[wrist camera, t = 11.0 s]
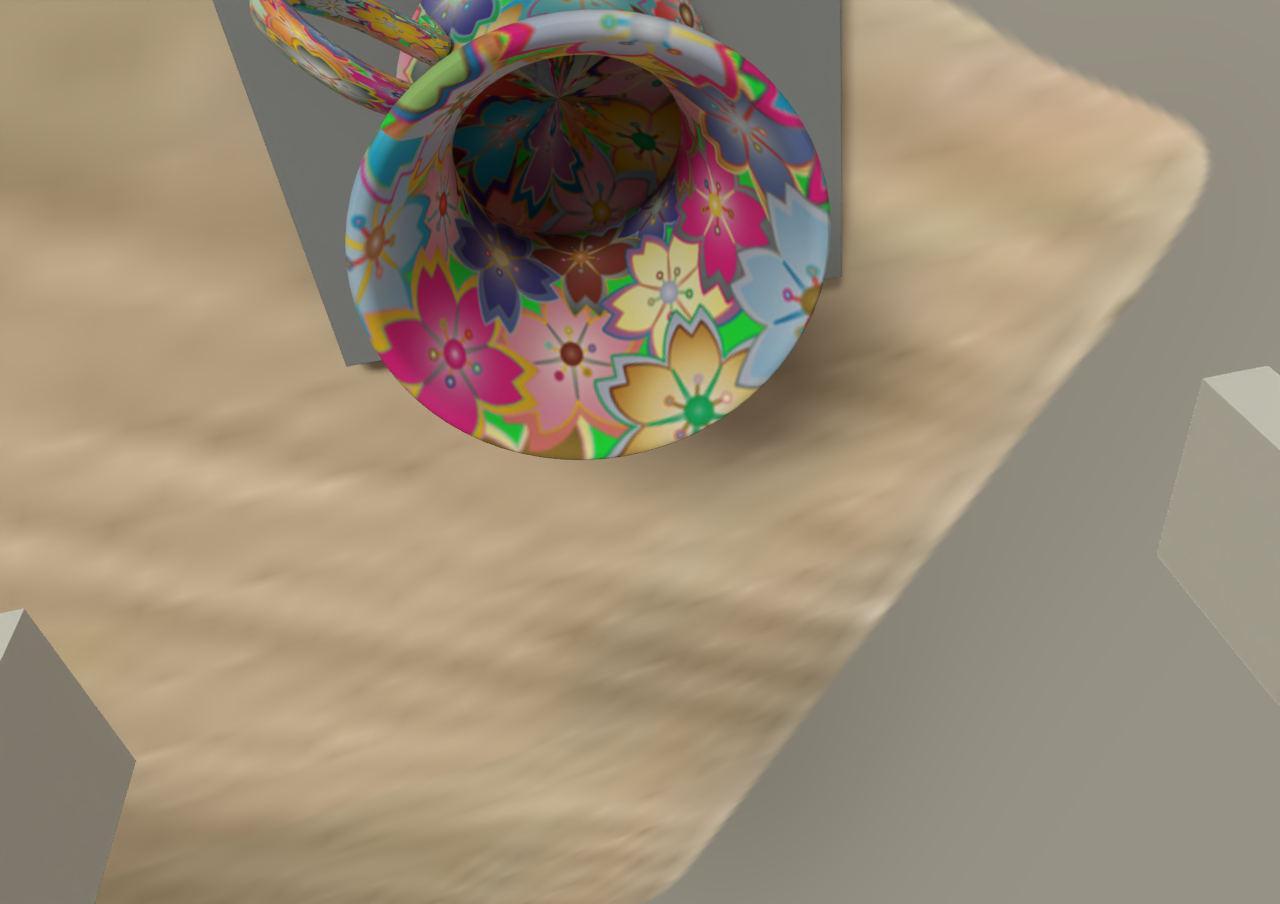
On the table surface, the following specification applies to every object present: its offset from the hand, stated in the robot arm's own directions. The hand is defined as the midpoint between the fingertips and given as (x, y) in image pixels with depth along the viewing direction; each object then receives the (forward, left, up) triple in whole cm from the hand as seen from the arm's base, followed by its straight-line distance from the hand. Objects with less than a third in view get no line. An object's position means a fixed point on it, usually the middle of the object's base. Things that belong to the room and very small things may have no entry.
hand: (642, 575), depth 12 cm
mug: (-1, 0, -20) cm, 20 cm away
